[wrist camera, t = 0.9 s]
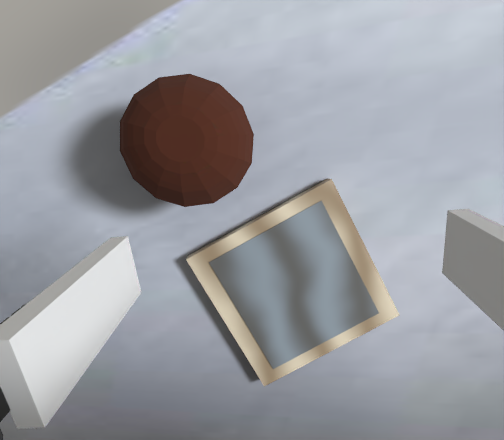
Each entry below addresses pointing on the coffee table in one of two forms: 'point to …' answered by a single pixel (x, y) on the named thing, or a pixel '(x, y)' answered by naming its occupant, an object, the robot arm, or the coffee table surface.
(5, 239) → the coffee table surface
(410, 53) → the coffee table surface
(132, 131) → the muffin
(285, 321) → the gold framed mirror
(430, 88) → the coffee table surface
